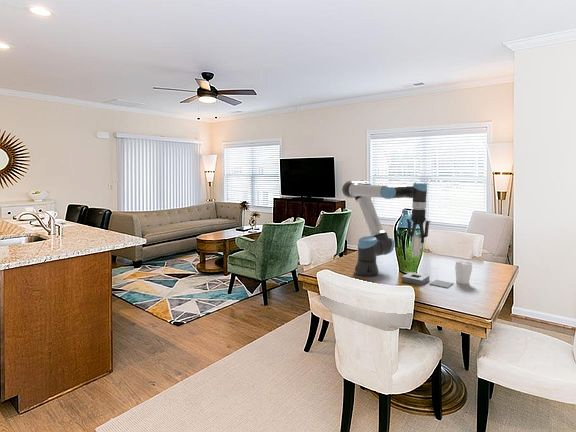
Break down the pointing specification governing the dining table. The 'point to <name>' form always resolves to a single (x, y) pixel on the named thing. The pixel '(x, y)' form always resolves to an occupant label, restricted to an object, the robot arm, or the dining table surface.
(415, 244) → the plug
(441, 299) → the dining table surface
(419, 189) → the robot arm
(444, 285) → the coaster
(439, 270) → the dining table surface
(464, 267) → the cup
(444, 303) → the dining table surface
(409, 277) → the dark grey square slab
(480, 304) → the dining table surface
